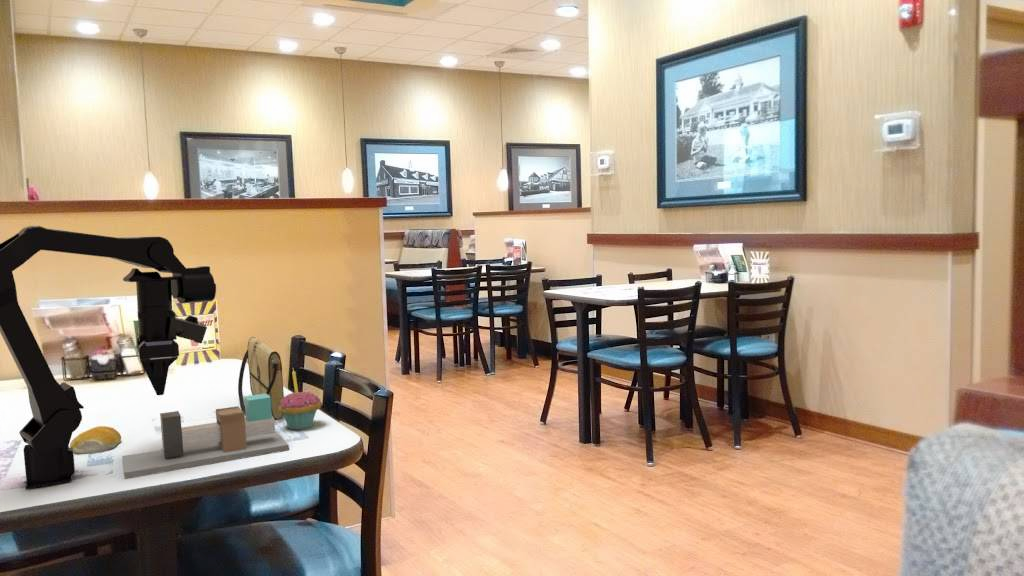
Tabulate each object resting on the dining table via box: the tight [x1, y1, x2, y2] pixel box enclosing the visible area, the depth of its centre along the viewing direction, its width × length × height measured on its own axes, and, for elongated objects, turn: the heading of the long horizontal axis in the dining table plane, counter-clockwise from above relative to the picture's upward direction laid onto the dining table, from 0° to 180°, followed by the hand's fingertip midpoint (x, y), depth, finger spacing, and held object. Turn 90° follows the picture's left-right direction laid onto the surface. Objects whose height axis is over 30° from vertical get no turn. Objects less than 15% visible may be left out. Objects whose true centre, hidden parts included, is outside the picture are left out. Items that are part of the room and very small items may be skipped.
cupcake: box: [278, 367, 322, 430], centre depth 154 cm, size 9×8×12 cm
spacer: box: [243, 394, 273, 422], centre depth 141 cm, size 4×4×4 cm
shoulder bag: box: [237, 336, 285, 421], centre depth 170 cm, size 30×7×15 cm, turn 29°
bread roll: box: [69, 425, 122, 455], centre depth 145 cm, size 8×9×4 cm
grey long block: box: [159, 410, 276, 458], centre depth 137 cm, size 19×4×7 cm, turn 119°
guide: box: [121, 406, 290, 479], centre depth 136 cm, size 27×11×8 cm, turn 119°
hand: (159, 390), depth 137 cm, fingers open, 9 cm apart
